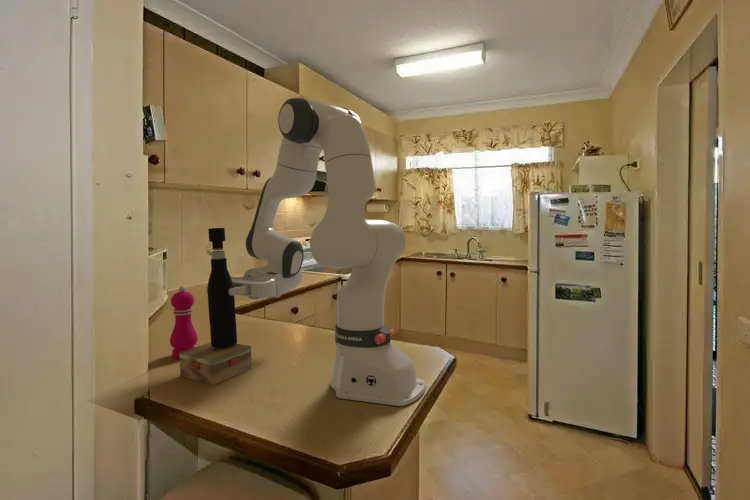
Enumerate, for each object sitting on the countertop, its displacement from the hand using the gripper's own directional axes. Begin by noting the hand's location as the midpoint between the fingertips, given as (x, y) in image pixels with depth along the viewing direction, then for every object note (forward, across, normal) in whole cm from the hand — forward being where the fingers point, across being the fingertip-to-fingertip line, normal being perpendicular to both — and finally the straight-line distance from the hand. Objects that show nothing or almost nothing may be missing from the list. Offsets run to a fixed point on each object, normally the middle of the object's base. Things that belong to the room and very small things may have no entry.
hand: (218, 290), depth 104 cm
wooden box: (+1, 0, +21) cm, 21 cm away
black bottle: (-2, 0, +14) cm, 14 cm away
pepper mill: (-4, -19, +21) cm, 29 cm away
